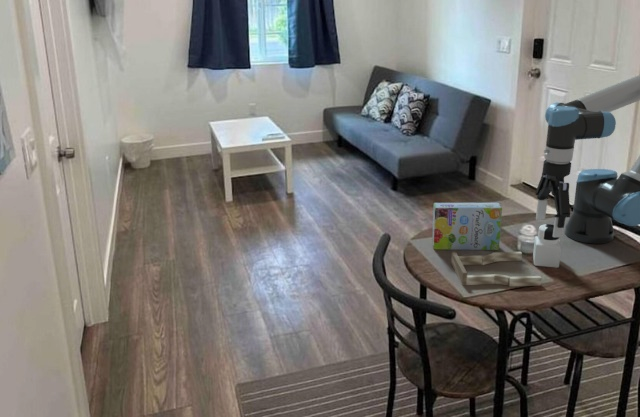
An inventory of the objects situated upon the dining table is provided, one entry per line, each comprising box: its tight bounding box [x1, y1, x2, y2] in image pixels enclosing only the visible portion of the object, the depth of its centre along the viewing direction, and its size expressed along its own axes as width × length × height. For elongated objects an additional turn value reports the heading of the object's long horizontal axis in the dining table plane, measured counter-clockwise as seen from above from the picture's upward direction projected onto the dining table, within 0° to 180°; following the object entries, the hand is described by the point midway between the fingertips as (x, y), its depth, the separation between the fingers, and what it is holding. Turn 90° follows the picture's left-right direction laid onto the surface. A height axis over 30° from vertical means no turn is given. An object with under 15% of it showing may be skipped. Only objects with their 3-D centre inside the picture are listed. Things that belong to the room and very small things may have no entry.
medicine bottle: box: [532, 223, 562, 268], centre depth 174 cm, size 7×7×12 cm
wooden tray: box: [450, 251, 543, 287], centre depth 170 cm, size 22×17×4 cm
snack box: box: [431, 202, 503, 251], centre depth 186 cm, size 21×6×15 cm, turn 84°
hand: (548, 227), depth 172 cm, fingers open, 13 cm apart
